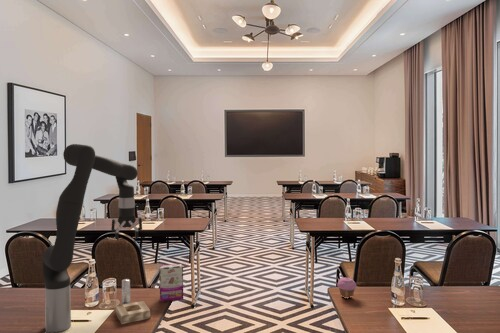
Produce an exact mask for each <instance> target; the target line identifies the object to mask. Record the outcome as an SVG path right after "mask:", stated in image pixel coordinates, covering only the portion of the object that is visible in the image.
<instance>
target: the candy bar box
mask: <svg viewBox="0 0 500 333" xmlns="http://www.w3.org/2000/svg"><path fill="white" fill-rule="evenodd" d="M158 269H159V301H160V302H161V303H162V302H171V301H172V302H173V301H180V300H184V265H183V263H173V264H164V265H163V264H162V265H159V268H158Z"/></svg>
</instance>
